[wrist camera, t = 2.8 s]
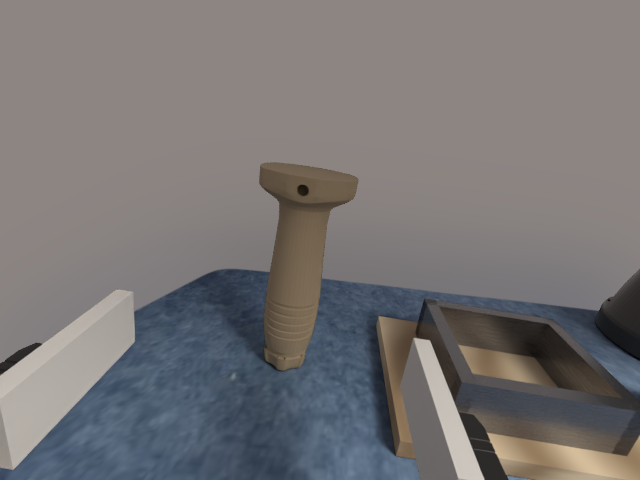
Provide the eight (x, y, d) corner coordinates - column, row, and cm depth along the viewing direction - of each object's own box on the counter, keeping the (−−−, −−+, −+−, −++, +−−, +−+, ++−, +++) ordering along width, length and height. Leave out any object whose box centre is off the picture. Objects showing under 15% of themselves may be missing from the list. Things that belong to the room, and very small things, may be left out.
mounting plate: (558, 356, 34) (563, 346, 33) (695, 507, 21) (705, 493, 20) (376, 326, 34) (378, 315, 34) (395, 455, 21) (400, 441, 21)
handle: (253, 334, 30) (270, 160, 25) (326, 348, 30) (358, 174, 25) (235, 371, 26) (251, 168, 21) (320, 388, 25) (358, 186, 20)
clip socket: (539, 352, 32) (553, 319, 31) (627, 456, 22) (652, 413, 21) (415, 331, 32) (424, 298, 31) (446, 425, 22) (461, 382, 21)
